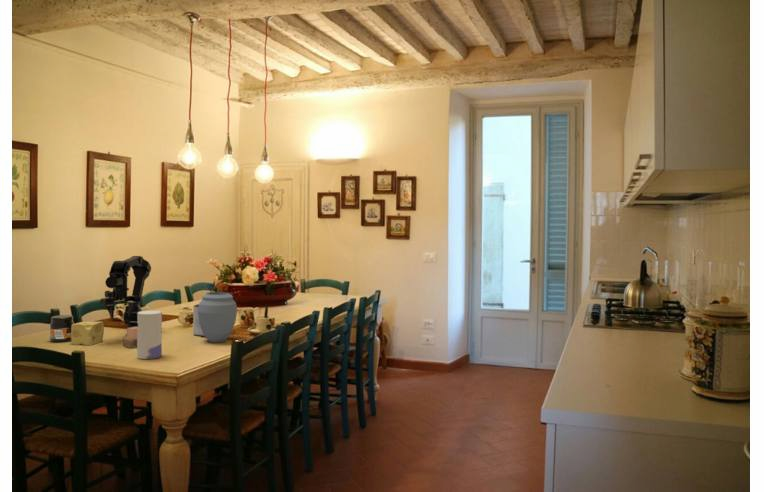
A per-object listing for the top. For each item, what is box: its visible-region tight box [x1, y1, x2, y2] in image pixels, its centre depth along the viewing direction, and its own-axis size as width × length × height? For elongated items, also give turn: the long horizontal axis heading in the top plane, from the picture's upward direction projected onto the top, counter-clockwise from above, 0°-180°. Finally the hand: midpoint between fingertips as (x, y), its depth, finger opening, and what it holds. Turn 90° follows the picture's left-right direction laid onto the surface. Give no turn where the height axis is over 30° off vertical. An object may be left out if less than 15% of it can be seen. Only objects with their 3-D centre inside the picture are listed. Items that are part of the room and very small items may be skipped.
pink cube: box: [126, 327, 137, 340], centre depth 272 cm, size 5×5×5 cm
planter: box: [192, 303, 205, 337], centre depth 306 cm, size 16×16×16 cm
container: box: [136, 310, 163, 360], centre depth 252 cm, size 10×10×20 cm
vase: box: [197, 291, 238, 343], centre depth 288 cm, size 20×20×24 cm
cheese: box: [70, 320, 105, 346], centre depth 278 cm, size 10×11×10 cm
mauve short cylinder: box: [122, 337, 137, 350], centre depth 273 cm, size 8×8×4 cm
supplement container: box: [49, 314, 75, 343], centre depth 282 cm, size 10×10×12 cm
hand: (120, 317), depth 282 cm, fingers open, 9 cm apart
